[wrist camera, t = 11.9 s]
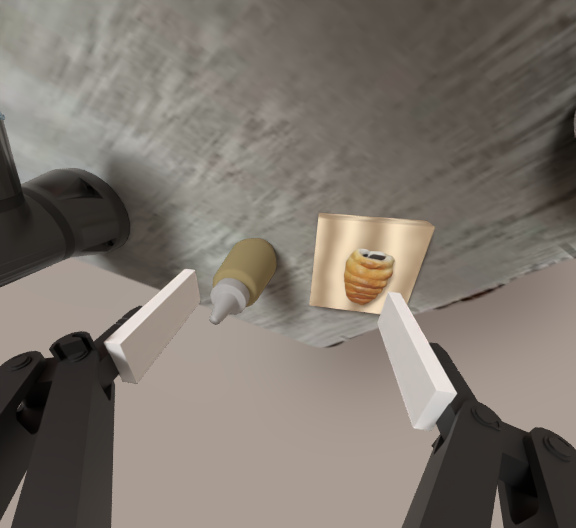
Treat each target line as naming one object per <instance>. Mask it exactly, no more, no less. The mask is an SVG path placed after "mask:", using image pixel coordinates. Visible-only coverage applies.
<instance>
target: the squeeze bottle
mask: <svg viewBox="0 0 576 528" xmlns="http://www.w3.org/2000/svg"><path fill="white" fill-rule="evenodd" d="M276 267H277V262H276V256H275V252H274V249H273V248H272V246H271V244H270V243H268V242H267V241H266V240H264V239H261V238H251V239H244V240H242V241H240V242H238V243H236V244H235V246H234V247H233V248H232V250H231V251H230V253H229V254H228V256H227V257H226V259H225V260H224V262H223V263H222V265H221V267H220V268H219V270H218V271H217V273H216V274H215V276H214V278H213V289H212V291H211V295H210V298H211V301H212V303H213V305H214V308H213V310H212V313H211V316H210V322H211V323H213V324H215V325H217V324H219V323H220V322H221V321H222V320H223V319H224V318H225V317H226V316H228V315H229V314H234V315H236V314H238V313H241V312H242V311H243V310H244V309H245V307H248V306H250V305H252V304H253V303H254V302H255V301H256V300H257V299H258V298H259V296H260V295H261V293H262V291H263V290H264V288H265V287H266V285H267V284H268V282H269V281H270V279H271V278H272V276H273V275H274V273H275V270H276Z"/></svg>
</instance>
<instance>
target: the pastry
mask: <svg viewBox="0 0 576 528" xmlns="http://www.w3.org/2000/svg"><path fill="white" fill-rule="evenodd" d="M394 262H395V259H394V258H393V256H390V255H387V254H385V253H383V252H379V251H369V250H367V249H357V250H355V251H354V252H353V253H352V254H351V255H350V257H349V258H348V259H347V261H346V264H345V272H344V283H345V291H346V296H347V298H348V299H349V300H350V301H351V302H354V303H357V304H359V305H365V304H367V303H369V302H370V301H372V300H373V299H376V298H377V296H378V294H380V293H381V292H382V290H383V288H384V287H386V286H387V282H388V279H389V278H390V277H391V276H392V274H393V263H394Z"/></svg>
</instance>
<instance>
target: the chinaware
mask: <svg viewBox="0 0 576 528" xmlns="http://www.w3.org/2000/svg"><path fill="white" fill-rule="evenodd" d="M574 133H575V137H576V112H575V116H574Z"/></svg>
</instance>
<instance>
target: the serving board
mask: <svg viewBox="0 0 576 528" xmlns="http://www.w3.org/2000/svg"><path fill="white" fill-rule="evenodd" d="M434 228H435V227H434V226H433V225H431V224H430V223H428V222H427V221H420V220H407V219H393V218H380V217H367V216H353V215H340V214H326V213H319V218H318V228H317V237H316V247H315V257H314V267H313V276H312V286H311V296H310V305H311V306H319V307H327V308H335V309H343V310H352V311H360V312H368V313H376V314H381V311H382V308H383V305H384V302H385V299H386V296H387V293H388V292H396V293H400V294H401V295H402V297H403V299H404V301H405V303H406V304H407V303H408V301H409V298H410V295H411V292H412V289H413V287H414V284H415V281H416V278H417V276H418V273H419V270H420V267H421V264H422V262H423V259H424V256H425V253H426V251H427V248H428V245H429V242H430V240H431V237H432V234H433V231H434ZM357 249H367V250H369V251H379V252H383V253H385V254H387V255H390V256H393V258H394V259H395V262H394V263H393V274H392V276H391V277H390V278H389V279H388V282H387V286H386V287H384V288H383V290H382V292H381V293H380V294H378V296H377V298H376V299H373V300H372V301H370V302H369V303H367V304H365V305H359V304H357V303H354V302H351V301H350V300H349V299H348V298H347V296H346V291H345V283H344V272H345V264H346V261H347V259H348V258H349V257H350V255H351V254H352V253H353V252H354V251H355V250H357Z"/></svg>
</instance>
